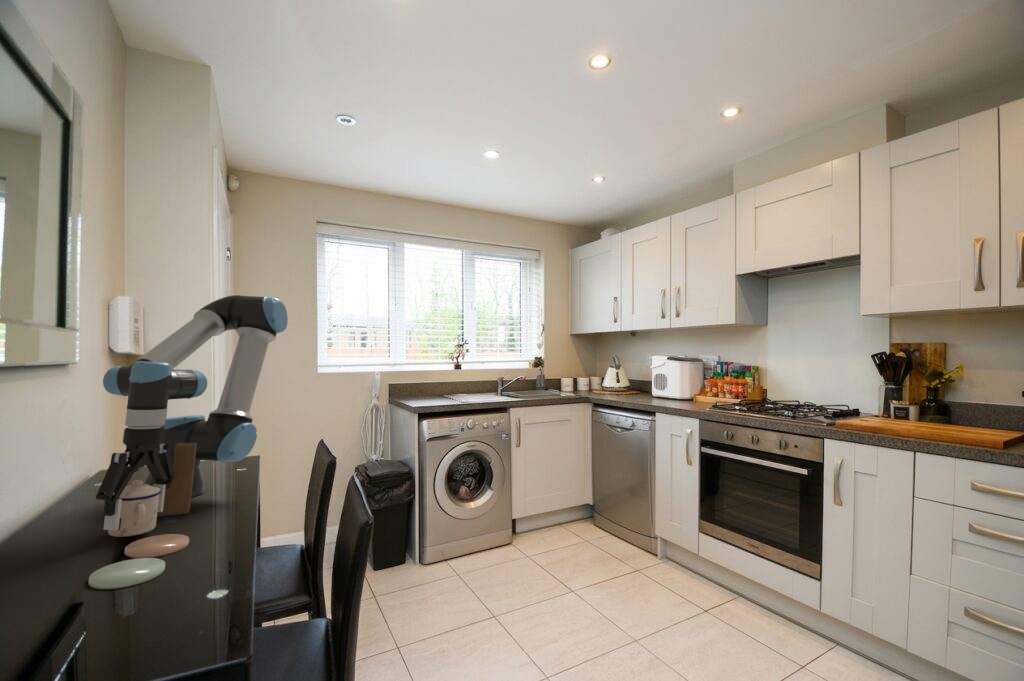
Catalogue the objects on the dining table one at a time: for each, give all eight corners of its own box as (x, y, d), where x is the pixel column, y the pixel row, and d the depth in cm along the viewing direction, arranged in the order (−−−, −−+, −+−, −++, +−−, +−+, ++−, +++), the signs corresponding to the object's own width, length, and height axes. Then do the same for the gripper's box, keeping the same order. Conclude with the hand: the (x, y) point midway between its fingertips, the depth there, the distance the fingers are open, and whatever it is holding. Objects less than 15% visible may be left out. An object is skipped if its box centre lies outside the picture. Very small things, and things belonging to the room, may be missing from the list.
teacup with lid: (103, 529, 104) (108, 479, 105) (151, 521, 111) (157, 473, 112) (112, 545, 96) (118, 490, 97) (164, 534, 103) (169, 483, 104)
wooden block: (145, 518, 112) (152, 446, 113) (147, 513, 116) (155, 443, 117) (188, 514, 117) (195, 445, 118) (190, 509, 121) (197, 442, 122)
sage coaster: (124, 560, 89) (125, 556, 89) (178, 563, 89) (179, 559, 89) (70, 587, 78) (71, 582, 78) (132, 590, 78) (132, 586, 78)
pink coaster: (153, 536, 102) (153, 532, 102) (200, 539, 102) (201, 535, 102) (109, 556, 91) (110, 552, 91) (162, 559, 91) (163, 555, 91)
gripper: (168, 419, 117) (160, 503, 116) (80, 432, 93) (67, 538, 92) (197, 421, 117) (188, 505, 116) (115, 434, 93) (103, 540, 92)
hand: (135, 520), depth 104 cm, fingers open, 12 cm apart
